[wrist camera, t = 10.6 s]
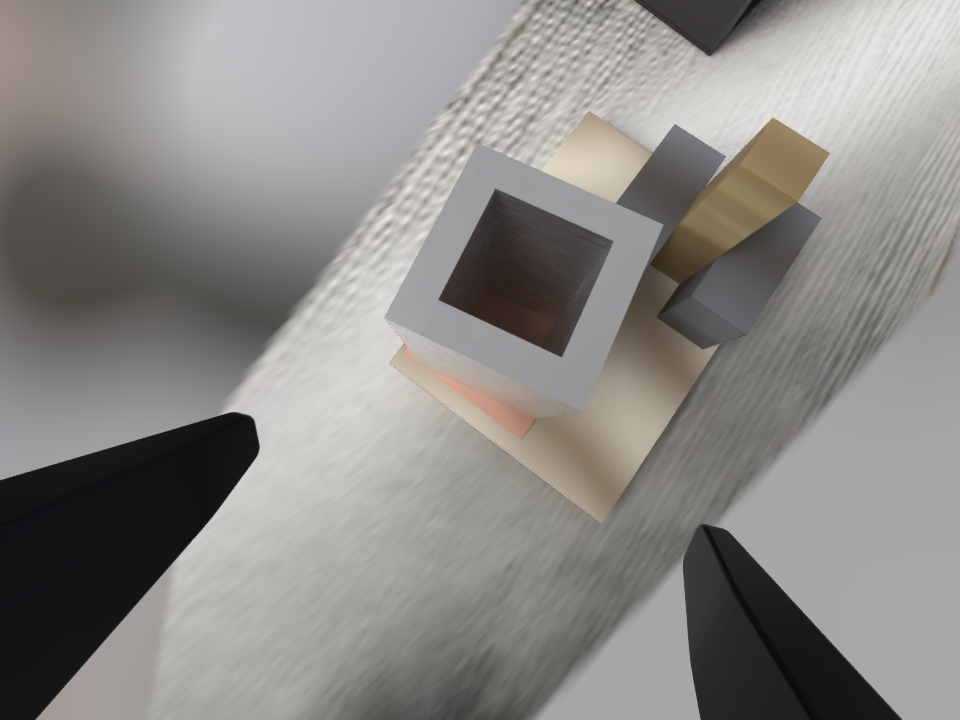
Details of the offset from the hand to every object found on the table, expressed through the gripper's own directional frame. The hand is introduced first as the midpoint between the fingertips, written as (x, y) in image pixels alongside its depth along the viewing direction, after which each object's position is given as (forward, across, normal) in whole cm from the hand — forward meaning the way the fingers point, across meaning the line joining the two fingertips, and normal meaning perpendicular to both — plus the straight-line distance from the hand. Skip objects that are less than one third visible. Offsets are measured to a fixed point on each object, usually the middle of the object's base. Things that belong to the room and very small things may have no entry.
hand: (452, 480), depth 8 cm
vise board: (+14, -2, +1) cm, 14 cm away
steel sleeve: (+11, +1, +2) cm, 11 cm away
